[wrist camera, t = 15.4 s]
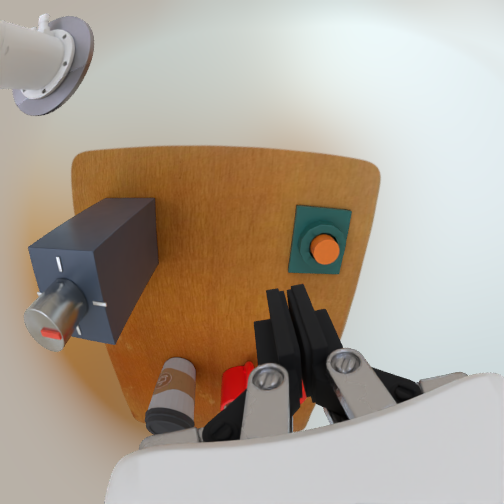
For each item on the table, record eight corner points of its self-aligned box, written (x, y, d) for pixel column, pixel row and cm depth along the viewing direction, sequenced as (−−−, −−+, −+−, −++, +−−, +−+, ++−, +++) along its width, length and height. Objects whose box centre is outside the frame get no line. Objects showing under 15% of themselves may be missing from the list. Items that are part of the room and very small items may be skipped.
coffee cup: (181, 347, 47) (167, 414, 33) (209, 372, 50) (203, 437, 36) (151, 361, 48) (132, 422, 35) (178, 384, 51) (168, 444, 38)
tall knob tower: (103, 198, 35) (24, 247, 19) (157, 197, 36) (95, 252, 19) (110, 260, 39) (51, 332, 23) (160, 263, 40) (117, 346, 23)
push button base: (296, 204, 37) (300, 209, 35) (350, 210, 37) (356, 215, 35) (287, 270, 41) (290, 278, 39) (337, 272, 41) (342, 280, 39)
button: (312, 233, 36) (316, 238, 34) (337, 234, 37) (341, 240, 35) (308, 257, 38) (311, 264, 36) (332, 258, 38) (336, 265, 36)
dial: (59, 315, 22) (34, 349, 17) (45, 277, 20) (14, 308, 15) (93, 319, 22) (70, 358, 17) (80, 278, 20) (49, 314, 15)
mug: (269, 353, 48) (273, 386, 41) (257, 391, 53) (259, 421, 45) (226, 349, 47) (225, 382, 40) (220, 387, 52) (218, 418, 45)
